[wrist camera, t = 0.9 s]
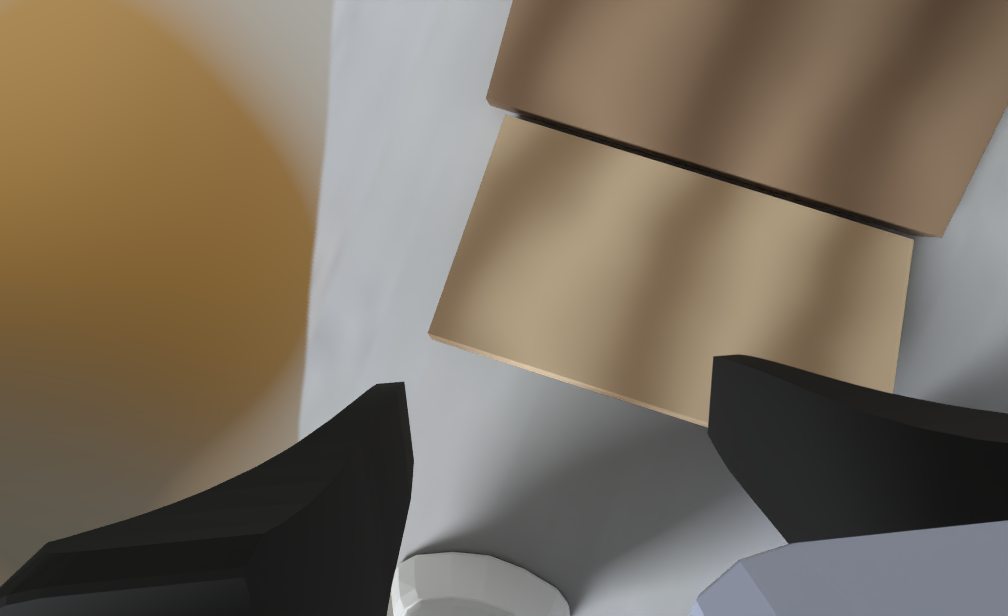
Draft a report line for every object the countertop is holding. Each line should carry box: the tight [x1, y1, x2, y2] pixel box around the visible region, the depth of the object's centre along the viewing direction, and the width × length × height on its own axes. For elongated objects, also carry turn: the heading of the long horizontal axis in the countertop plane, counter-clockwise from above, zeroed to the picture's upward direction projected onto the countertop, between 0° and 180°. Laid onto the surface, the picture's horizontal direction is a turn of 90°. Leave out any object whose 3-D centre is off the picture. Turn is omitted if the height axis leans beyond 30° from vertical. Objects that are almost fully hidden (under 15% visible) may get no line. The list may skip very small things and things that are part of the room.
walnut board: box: [486, 0, 1008, 238], centre depth 21 cm, size 20×10×2 cm, turn 73°
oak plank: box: [428, 115, 914, 428], centre depth 21 cm, size 18×10×2 cm, turn 73°
